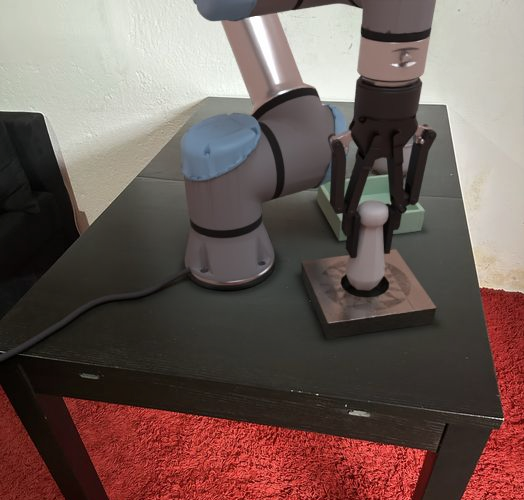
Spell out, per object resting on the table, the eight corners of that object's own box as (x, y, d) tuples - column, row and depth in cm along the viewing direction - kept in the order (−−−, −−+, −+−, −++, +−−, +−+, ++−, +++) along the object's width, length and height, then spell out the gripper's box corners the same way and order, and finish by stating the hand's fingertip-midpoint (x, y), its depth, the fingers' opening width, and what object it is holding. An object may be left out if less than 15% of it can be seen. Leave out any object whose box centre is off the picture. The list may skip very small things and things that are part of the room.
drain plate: (326, 339, 75) (328, 323, 73) (301, 276, 87) (301, 261, 85) (432, 323, 77) (436, 307, 75) (393, 264, 89) (395, 248, 86)
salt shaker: (340, 289, 79) (346, 211, 70) (349, 268, 83) (356, 192, 74) (378, 297, 77) (390, 217, 68) (386, 275, 81) (398, 198, 72)
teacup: (416, 183, 110) (423, 145, 105) (364, 180, 112) (368, 143, 107) (416, 156, 120) (422, 120, 115) (368, 154, 122) (371, 118, 117)
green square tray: (339, 241, 94) (340, 220, 92) (317, 201, 106) (317, 182, 103) (421, 230, 96) (425, 210, 93) (391, 193, 107) (393, 173, 105)
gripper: (325, 93, 57) (315, 273, 73) (476, 80, 59) (434, 257, 74) (308, 73, 62) (303, 244, 78) (447, 61, 64) (414, 230, 80)
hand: (367, 250), depth 76 cm, fingers closed on salt shaker, 4 cm apart
